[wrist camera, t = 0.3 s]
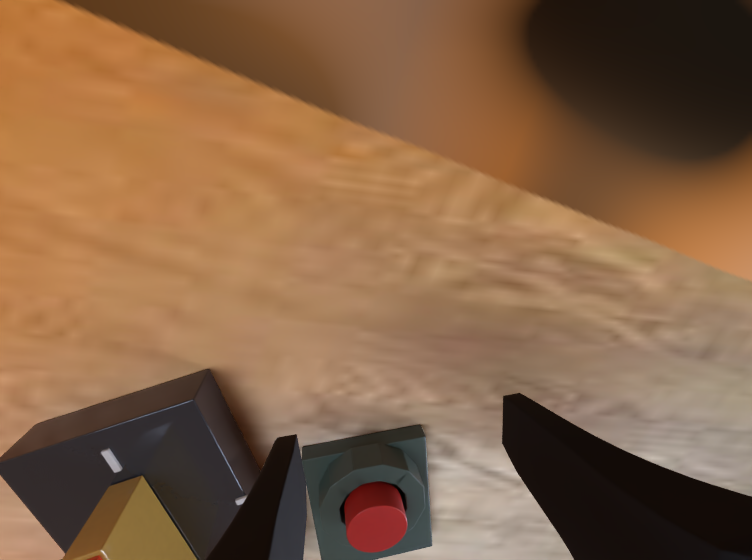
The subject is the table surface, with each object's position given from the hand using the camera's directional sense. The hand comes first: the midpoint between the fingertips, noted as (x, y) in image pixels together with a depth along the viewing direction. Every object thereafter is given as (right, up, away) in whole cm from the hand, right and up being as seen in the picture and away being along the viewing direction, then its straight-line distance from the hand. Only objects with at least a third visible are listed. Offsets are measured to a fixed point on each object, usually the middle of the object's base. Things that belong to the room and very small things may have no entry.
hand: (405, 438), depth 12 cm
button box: (-1, -10, +13) cm, 17 cm away
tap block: (-14, -8, +11) cm, 19 cm away
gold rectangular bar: (-13, -8, +8) cm, 17 cm away
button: (-1, -9, +10) cm, 14 cm away
